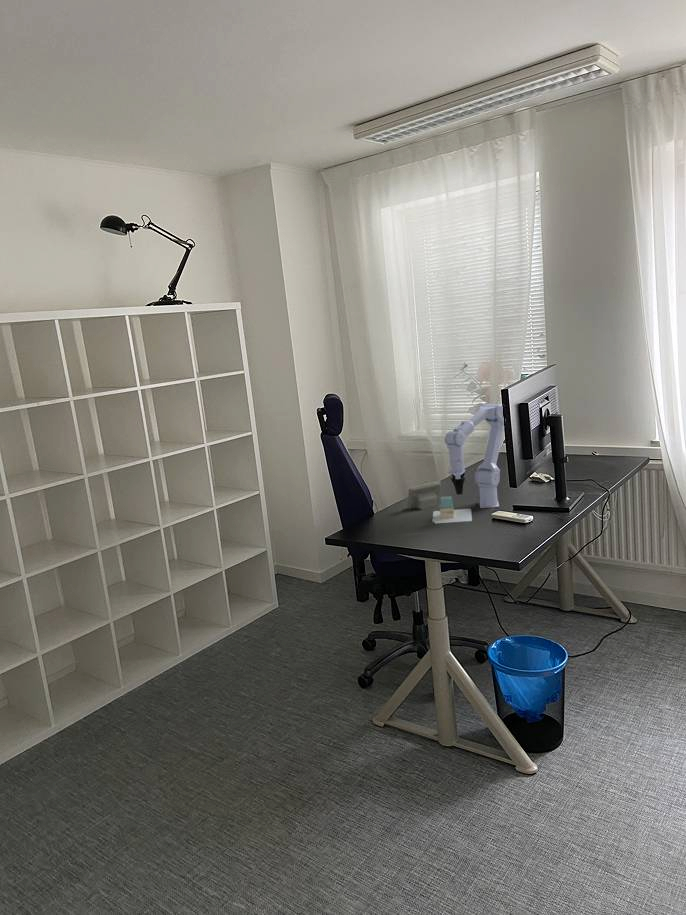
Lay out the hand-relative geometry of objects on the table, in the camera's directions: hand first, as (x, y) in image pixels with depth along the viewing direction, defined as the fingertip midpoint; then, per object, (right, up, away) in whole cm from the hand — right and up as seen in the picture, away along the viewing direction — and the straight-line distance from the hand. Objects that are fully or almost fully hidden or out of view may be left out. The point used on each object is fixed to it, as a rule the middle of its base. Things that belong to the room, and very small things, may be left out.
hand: (459, 491), depth 295 cm
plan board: (-3, -11, +2) cm, 11 cm away
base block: (-5, -10, +2) cm, 12 cm away
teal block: (-5, -6, +1) cm, 8 cm away
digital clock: (-12, -8, +22) cm, 26 cm away
